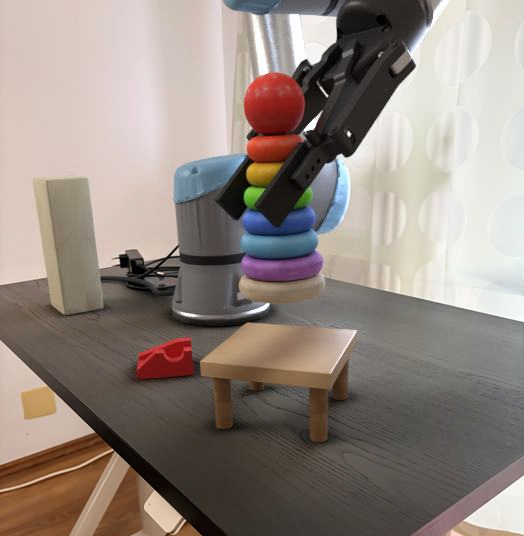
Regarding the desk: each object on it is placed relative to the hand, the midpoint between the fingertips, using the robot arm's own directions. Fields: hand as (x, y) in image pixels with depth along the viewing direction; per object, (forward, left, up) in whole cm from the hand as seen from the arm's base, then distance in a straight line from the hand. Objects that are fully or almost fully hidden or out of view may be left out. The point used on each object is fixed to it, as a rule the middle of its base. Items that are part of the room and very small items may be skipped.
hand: (245, 213), depth 50 cm
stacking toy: (+2, +3, -8) cm, 9 cm away
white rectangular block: (-43, +32, -20) cm, 57 cm away
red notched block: (-15, +10, -20) cm, 27 cm away
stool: (+2, +3, -20) cm, 20 cm away
